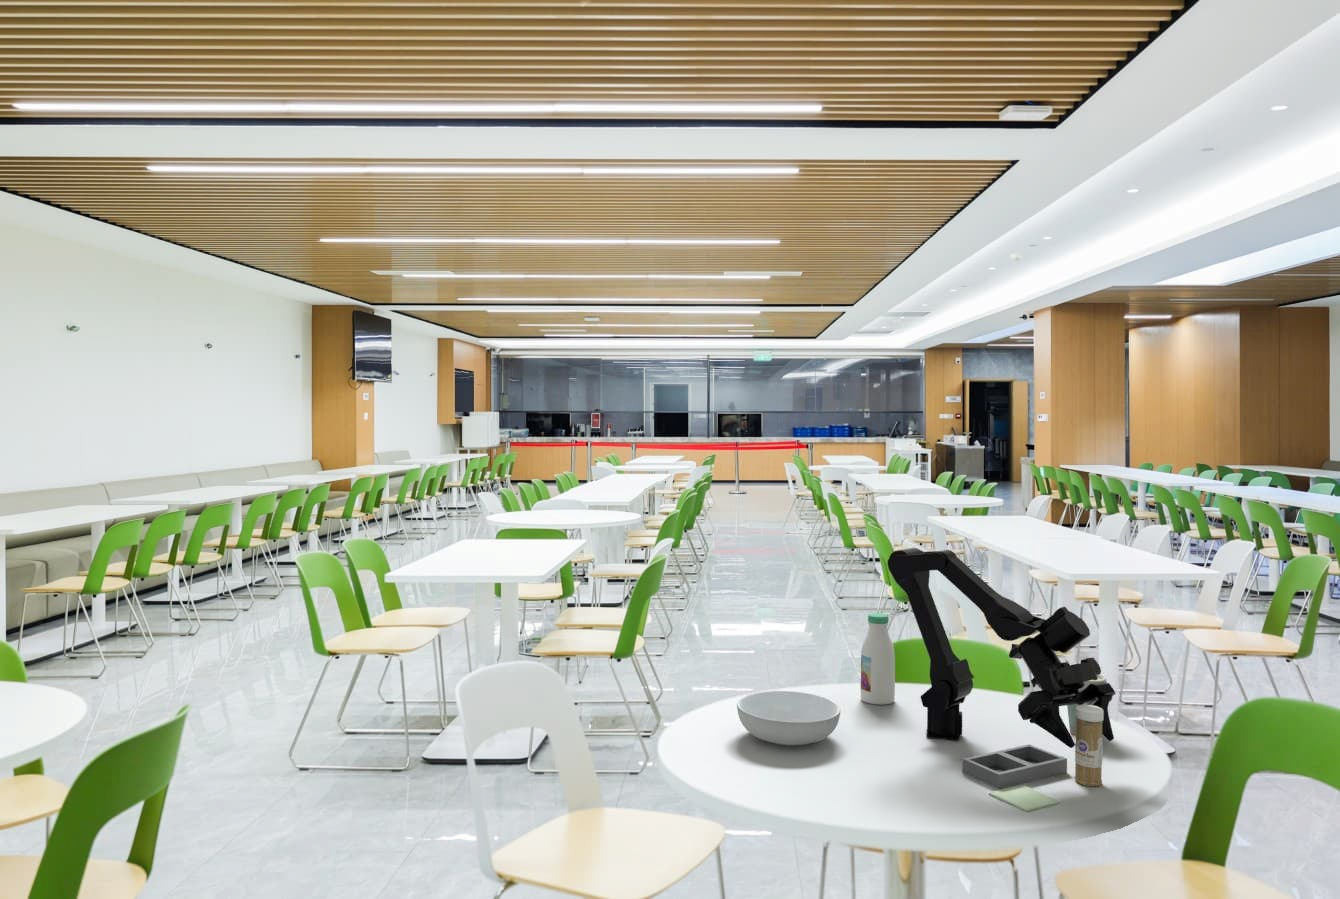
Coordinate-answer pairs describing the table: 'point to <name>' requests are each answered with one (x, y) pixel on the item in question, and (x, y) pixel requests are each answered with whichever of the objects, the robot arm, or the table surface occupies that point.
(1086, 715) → the sprinkles bottle
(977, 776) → the tray
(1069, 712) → the coffee cup
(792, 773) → the table surface
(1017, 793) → the pad
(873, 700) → the milk bottle
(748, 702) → the serving bowl
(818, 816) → the table surface
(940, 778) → the table surface
